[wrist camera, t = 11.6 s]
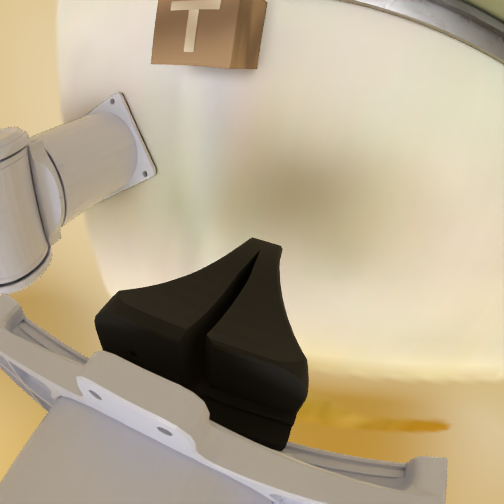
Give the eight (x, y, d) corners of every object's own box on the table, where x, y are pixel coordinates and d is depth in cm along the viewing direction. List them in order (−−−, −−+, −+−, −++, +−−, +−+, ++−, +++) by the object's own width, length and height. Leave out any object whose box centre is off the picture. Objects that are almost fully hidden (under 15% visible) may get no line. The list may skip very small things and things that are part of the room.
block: (256, 68, 18) (229, 68, 14) (190, 62, 19) (150, 64, 15) (267, 0, 15) (242, -19, 11) (199, -2, 16) (159, -14, 12)
